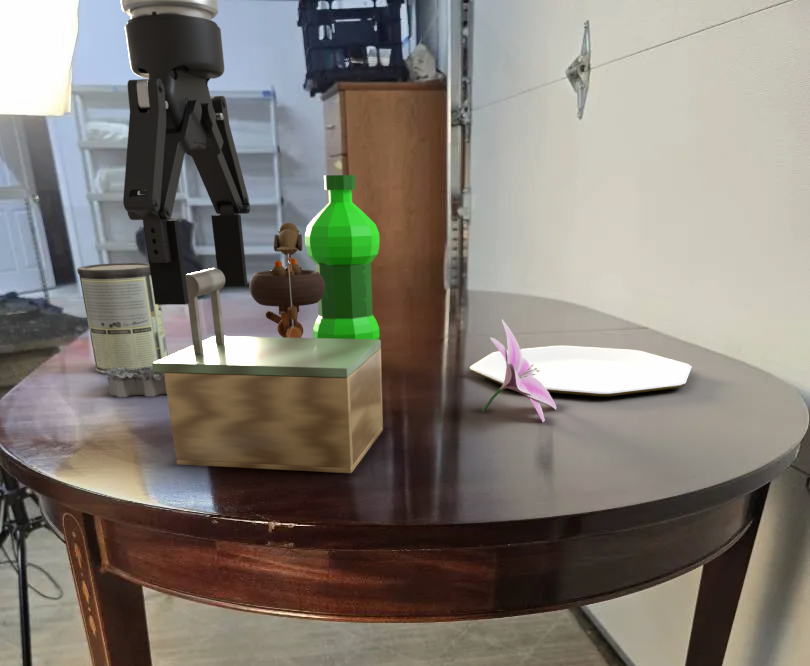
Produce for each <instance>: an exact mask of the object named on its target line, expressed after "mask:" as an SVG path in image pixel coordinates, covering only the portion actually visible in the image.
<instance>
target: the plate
mask: <svg viewBox="0 0 810 666" xmlns="http://www.w3.org/2000/svg"><path fill="white" fill-rule="evenodd" d="M520 350H521V354H522V357H523V358H525V359H526V360H527V361H528V363H529V364H530V366H532V365H533V366H532V367H531V368H532V370H533V369H535V368H537V369H536V370H538V372H537V371H536V370H533V371H534V372H533V371H532V372H533V374H535V375H533V377H534V378H536V379H537V380H539V381H540V382H541V383H542V384H543V386H544V387H545V388H546V389H547V391H548V392H549V393H554V394H555V393H556V394H569V395H579V396H591V397H615V396H621V395H623V396H624V395H630V394H639V393H647V392H655V391H663V390H671V389H672V390H673V389H679V388H681V387H684V386H686V383H687V382H688V378H689V376H690V373H691V372H692V368H693V366H692V365H690V364H689V363H686V362H682V361H678V360H676V359H672V358H668V357H665V356H660V355H658V354H654V353H651V352H646V351H644V350H643V351H642V350H638V349H637V350H636V349H627V348H612V347H611V348H609V347H596V346H595V347H592V346H577V345H549V346H548V345H547V346H538V347H528V348H520ZM506 351H507V356H508V349H506ZM507 361H508V360H507ZM539 370H540V371H539ZM469 371H470V372H471V373H473V374H476V375H477V376H480V377H482V378H485V379H487V380H490V381H492V382H493V383H496V384H497V385H501V386H502V385H503V383H504V380H505V374H506V360H505V358H504V357H503V355H502V354H501V352H500V351H499V350H498V351H492V352H491V353H489V354H488V355H486V356H485V357H483V358H481V359H480V360H478V361H476V362H475V363H473V364H472V365H470V366H469Z"/></svg>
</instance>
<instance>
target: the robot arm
mask: <svg viewBox="0 0 810 666" xmlns="http://www.w3.org/2000/svg"><path fill="white" fill-rule="evenodd" d="M120 5H121V11H122V12H124V13H125V15H127V16H128V17H130V19H128V20H127V21H126V24H125V25H124V31H125V39H126V45H127V52H128V59H129V60H128V61H129V66H130V70H131V71H132V73H133V74H134V75H136V76H137V77H140V78H141V79H140V78H139V79H138V78H137V79H128V81H127V94H128V97H127V98H128V107H129V120H128V131H127V144H126V158H125V159H126V160H125V170H124V186H123V196H122V199H123V200H122V201H123V203H122V204H123V207H124V209H125V211H126V212H127V216H128V218H129V220H131V221H142V224H143V232H144V238H145V243H146V244H145V245H146V253H147V259H148V263H149V266H150V273H151V280H152V286H153V293H154V300H155V304H161V305H188V304H189V299H188V292H187V284H186V276H185V275H186V269H185V268H186V267H185V262H184V261H185V260H184V254H183V247H182V239H181V231H180V223H179V220H178V219H172V216H173V211H174V206H175V202H176V197H177V191H178V188H179V183H180V178H181V174H182V167H183V164H184V160H185V155H187V156H189V157H191V158H192V160H193V163H194V166H195V168H196V171H197V172H198V175H199V176H200V179H201V182H202V184H203V186H204V188H205V190H206V192H207V195H208V197H209V200H210V202H211V204H212V207H213V209H214V211H215V213H216V214H212V215H210V216H211V226H212V234H213V242H214V251H215V263H216V268H217V269H219V270H220V271H222V273H223V274H224V276H225V285H224V286H223V287H246V286H248V285H249V284H248V276H247V266H246V256H245V244H244V235H243V224H242V216H241V215H243V214H244V215H246V214H247V215H248V214H250V213H251V204H250V199H249V198H250V197H249V194H248V191H247V187H246V183H245V178H244V176H243V172H242V168H241V163H240V160H239V157H238V152H237V148H236V144H235V141H234V137H233V134H232V130H231V129H232V128H231V126H230V120H229V119H230V118H229V113H228V106H227V100H226V96H224V95H212V96H211V94H210V89H209V85H208V84H209V81H210V80H213V79H218V78H220V77H222V75H224V73H225V61H224V60H225V59H224V52H223V51H224V50H223V39H222V30H221V29H222V28H221V27H219V25H218V23H217V22H215V21H213V19H215V17H216V16H217V15H218V13H219V8H218V7H219V6H218V0H120ZM142 78H143V79H142Z"/></svg>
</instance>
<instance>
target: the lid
mask: <svg viewBox="0 0 810 666" xmlns="http://www.w3.org/2000/svg"><path fill="white" fill-rule="evenodd" d="M185 276H186V284H187V292H188V299H189V304H187V307H188V308H187V309H188V316H189V323H190V332H191V340H192V345H191V346H188V347H186V348H183V349H181V350H178V351H177V352H175V353H172V354H170V355H169V354H168V356H167V357H165V358H163V359H160V360H158V361H156V362H153V363H152V366H153V372H173V373H206V374H240V375H274V376H308V377H342V378H347V377H348V376H349V375H351V374H352V373H353V372H354V371H355V370H356V369H357V368H358V367H360V366H361V365H362V364H363V363H364V362H365V361H366V360H367V359H368V358H370V357H371V356H372V355H373V354H374V353H375V352H376V351H377V350H378V349H380V348H381V349H382V340H381V338H379V339H332V338H313V337H301V338H284V337H282V336H280V337H276V336H236V335H235V336H233V335H232V336H229V335H228V336H227V335H225V332H224V324H223V323H224V321H223V312H222V303H221V294H220V290H221V289H223V288H224V287H225V286H224V285H225V276H224V274H223V273H222V271H220V270H219V269H217V267H212V268H208V269H202V270H200V271H194V272H191V273H187V274H186V273H185ZM209 293H210V303H211V312H212V320H213V329H214V335H213V336H211V337H209V338H207V339H204V340H203V333H202V326H201V317H200V316H201V315H200V310H199V309H200V308H199V301H198V300H199V299H198V297H199V296H203V295H207V294H209Z"/></svg>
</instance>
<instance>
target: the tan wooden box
mask: <svg viewBox="0 0 810 666" xmlns="http://www.w3.org/2000/svg"><path fill="white" fill-rule="evenodd" d="M164 376H165V383H166V390H167V394H166V397H167V404H168V409H169V417H170V425H171V432H172V439H173V445H174V453H175V459H176V465H183V466H200V467H201V466H203V467H221V468H222V467H224V468H243V469H260V470H261V469H262V470H281V471H282V470H283V471H302V472H303V471H304V472H322V473H337V474H338V473H340V474H341V473H342V474H352V473H353V472H354V470H355V469H356V467H357V466H358V465H359V463H360V462H361V461H362V460H363V458H364V457H365V456H366V454H367V453H368V451H369V450H370V448H371V447H372V446H373V444H374V443H375V442H376V440H377V439H378V438H379V436H380V435H381V433H382V432H383V431H384V422H383V417H384V416H383V383H382V381H383V379H382V378H383V377H382V347H381V348H380V349H378V350H377V351H376V352H375V353H374V354H373V355H372V356H371V357H370V358H368V359H367V360H366V361H365V362H364V363H363V364H362V365H361V366H360V367H358V368H357V369H356V370H355V371H354V372H353V373H352V374H351V375H349V376H348V377H347V378H342V377H308V376H274V375H240V374H206V373H173V372H165V373H164Z"/></svg>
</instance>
